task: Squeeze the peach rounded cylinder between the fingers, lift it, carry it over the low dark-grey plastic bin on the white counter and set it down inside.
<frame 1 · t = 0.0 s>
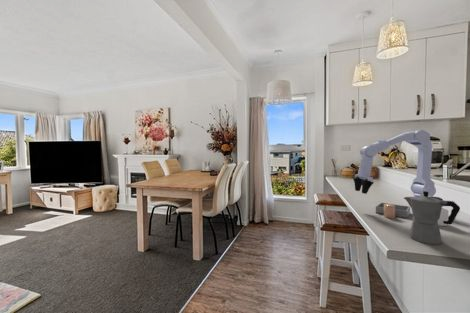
hand: (360, 192, 117), 11 cm above the counter, tool pointing down, fingers open, 7 cm apart
medicine bottle: (433, 223, 97), on the counter
coffeepot: (429, 241, 78), on the counter
bin: (392, 213, 113), on the counter
peach rounded cylinder: (389, 217, 106), on the counter
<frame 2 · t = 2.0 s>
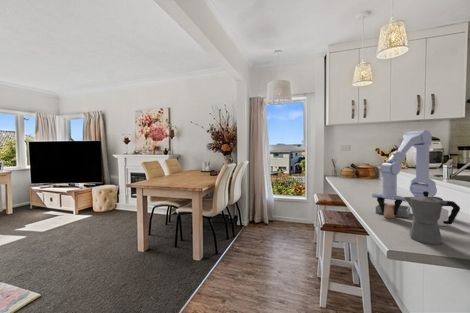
hand: (389, 213, 106), 2 cm above the counter, tool pointing down, fingers closed on peach rounded cylinder, 5 cm apart
peach rounded cylinder: (389, 216, 106), on the counter, touching gripper
everything else where it was.
when the fingers open (4 cm above the counter, at t = 5.0 s): peach rounded cylinder drops 2 cm, resting on bin.
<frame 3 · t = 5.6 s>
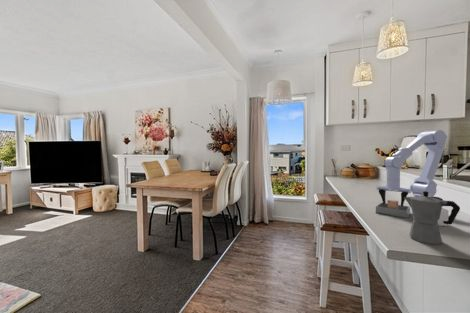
hand: (392, 204, 113), 4 cm above the counter, tool pointing down, fingers open, 7 cm apart
peach rounded cylinder: (392, 212, 113), point 1 cm above the counter, touching bin
everything else where it was.
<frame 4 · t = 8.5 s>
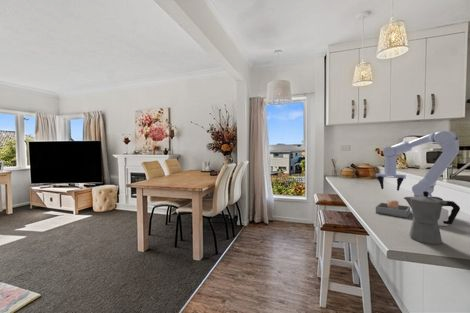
hand: (390, 189, 127), 10 cm above the counter, tool pointing down, fingers open, 7 cm apart
nothing on the counter moved.
at the end: peach rounded cylinder inside the target area on the bin (0.1 cm from its centre), point 0.5 cm above the bin's base; peach rounded cylinder tilted 1°; the gripper is holding nothing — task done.
